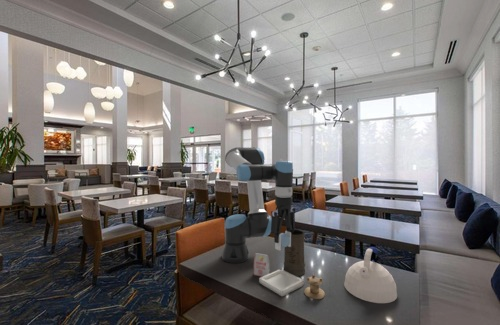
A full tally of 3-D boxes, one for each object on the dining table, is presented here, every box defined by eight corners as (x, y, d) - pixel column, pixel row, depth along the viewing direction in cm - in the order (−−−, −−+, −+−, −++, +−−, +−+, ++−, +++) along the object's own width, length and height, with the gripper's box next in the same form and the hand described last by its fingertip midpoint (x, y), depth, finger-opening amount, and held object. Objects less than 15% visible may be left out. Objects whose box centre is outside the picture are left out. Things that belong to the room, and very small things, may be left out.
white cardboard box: (256, 271, 120) (256, 251, 120) (269, 274, 117) (269, 253, 117) (253, 274, 117) (253, 254, 117) (266, 277, 114) (266, 256, 114)
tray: (259, 282, 110) (259, 277, 110) (280, 273, 118) (280, 268, 118) (282, 296, 99) (282, 291, 99) (303, 285, 108) (303, 280, 108)
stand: (305, 298, 97) (306, 282, 97) (303, 287, 105) (303, 272, 105) (326, 299, 97) (326, 283, 96) (322, 288, 105) (322, 273, 104)
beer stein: (305, 277, 114) (306, 234, 115) (282, 275, 116) (283, 233, 117) (304, 265, 129) (305, 227, 130) (284, 263, 131) (285, 226, 132)
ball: (273, 246, 109) (273, 233, 108) (282, 243, 112) (282, 230, 112) (283, 250, 104) (283, 236, 104) (292, 247, 108) (293, 233, 108)
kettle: (337, 291, 103) (337, 249, 102) (352, 273, 119) (353, 236, 118) (391, 311, 90) (392, 262, 89) (401, 288, 106) (402, 246, 105)
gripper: (275, 199, 98) (274, 256, 99) (304, 194, 111) (303, 245, 112) (262, 197, 104) (261, 250, 105) (291, 192, 116) (290, 240, 117)
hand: (283, 247), depth 108 cm, fingers closed on ball, 6 cm apart
